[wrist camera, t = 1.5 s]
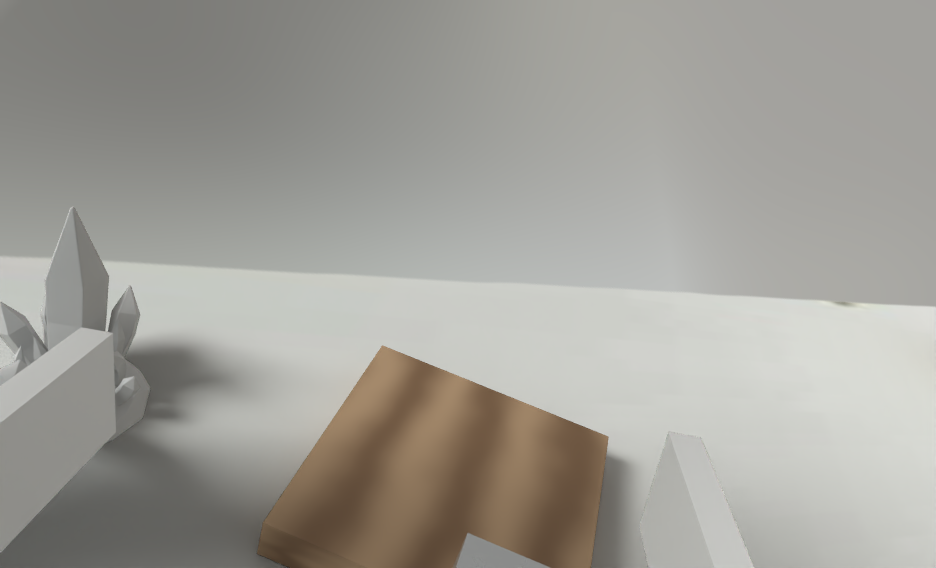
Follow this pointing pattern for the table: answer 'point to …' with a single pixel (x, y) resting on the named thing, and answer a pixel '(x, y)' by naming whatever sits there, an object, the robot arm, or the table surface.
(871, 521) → the table surface
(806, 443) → the table surface
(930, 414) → the table surface
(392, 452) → the block
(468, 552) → the block
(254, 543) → the table surface
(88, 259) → the crystal
